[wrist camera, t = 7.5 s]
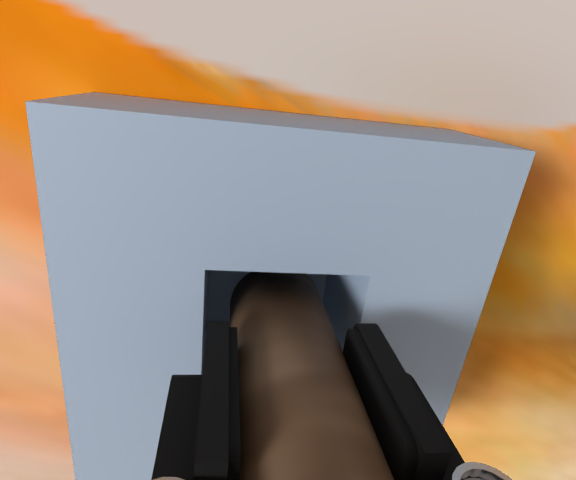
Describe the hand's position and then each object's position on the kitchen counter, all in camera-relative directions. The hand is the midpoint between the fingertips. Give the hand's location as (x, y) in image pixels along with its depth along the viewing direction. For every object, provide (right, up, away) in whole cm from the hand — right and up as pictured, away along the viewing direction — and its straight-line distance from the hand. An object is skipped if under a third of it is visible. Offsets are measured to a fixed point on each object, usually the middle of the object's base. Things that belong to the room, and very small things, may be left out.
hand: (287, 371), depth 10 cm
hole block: (-1, +2, +5) cm, 6 cm away
